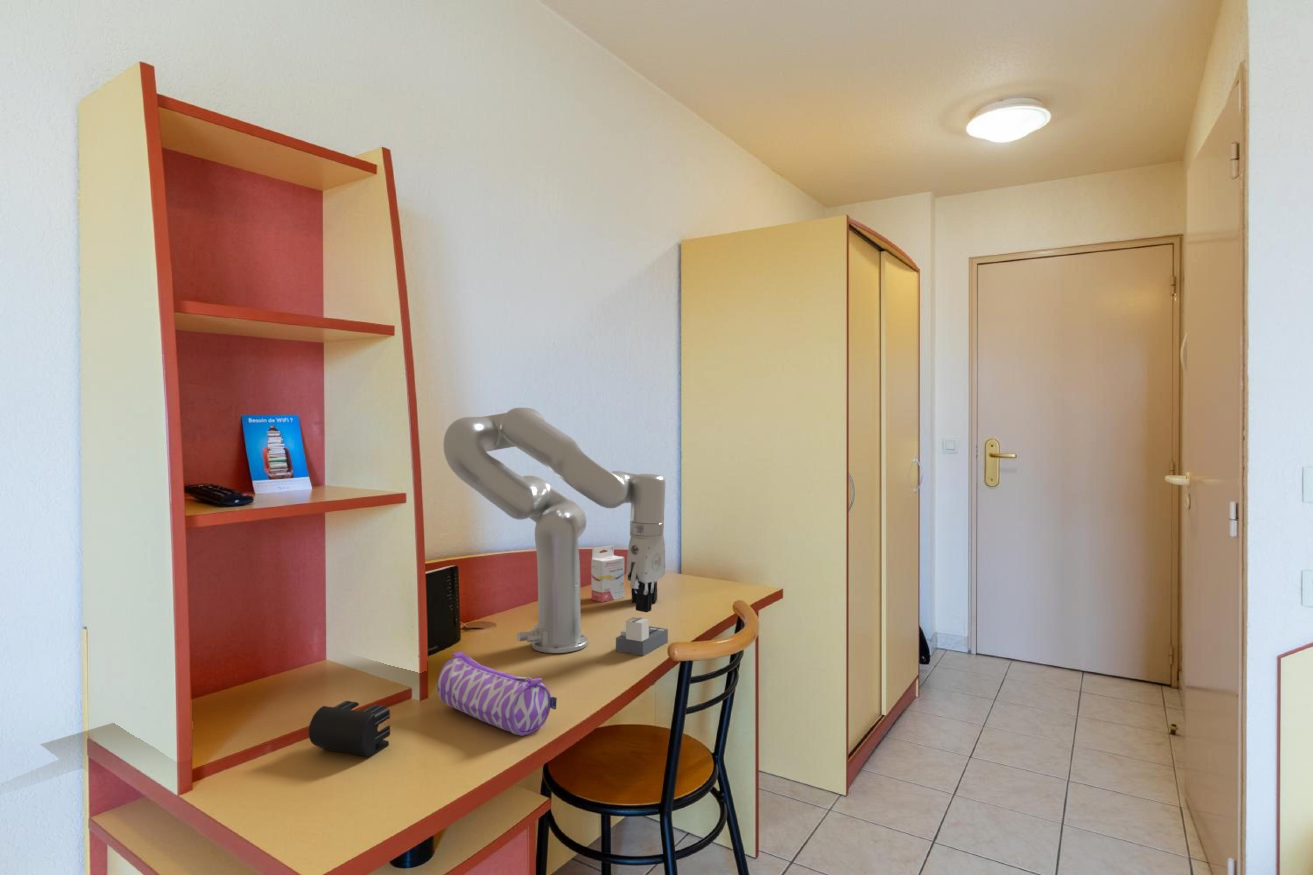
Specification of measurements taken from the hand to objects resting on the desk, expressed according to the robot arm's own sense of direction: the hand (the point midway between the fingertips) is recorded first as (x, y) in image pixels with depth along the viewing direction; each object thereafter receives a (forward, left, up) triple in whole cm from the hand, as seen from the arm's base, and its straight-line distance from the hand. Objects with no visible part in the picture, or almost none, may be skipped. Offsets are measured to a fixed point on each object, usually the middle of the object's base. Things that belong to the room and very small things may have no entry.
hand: (643, 610), depth 162 cm
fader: (-3, -3, -5) cm, 7 cm away
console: (0, 0, -8) cm, 8 cm away
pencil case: (-40, -22, -9) cm, 47 cm away
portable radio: (+19, +36, -8) cm, 41 cm away
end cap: (-63, -22, -9) cm, 67 cm away
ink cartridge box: (+11, +44, -8) cm, 46 cm away
